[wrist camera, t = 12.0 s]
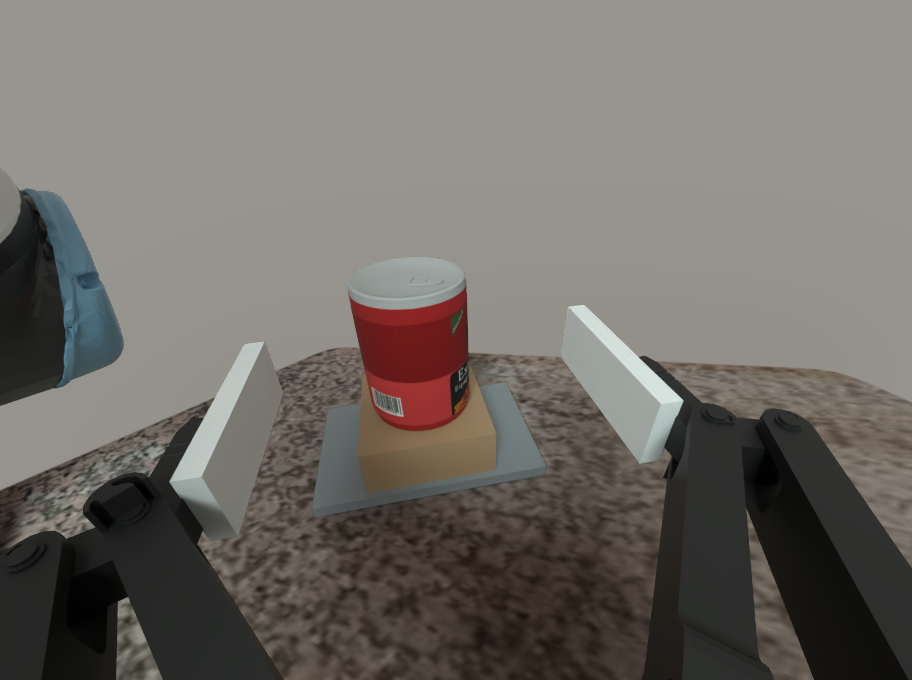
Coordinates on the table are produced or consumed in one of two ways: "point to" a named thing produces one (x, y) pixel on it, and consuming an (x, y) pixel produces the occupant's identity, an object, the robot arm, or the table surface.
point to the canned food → (413, 339)
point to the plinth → (350, 477)
